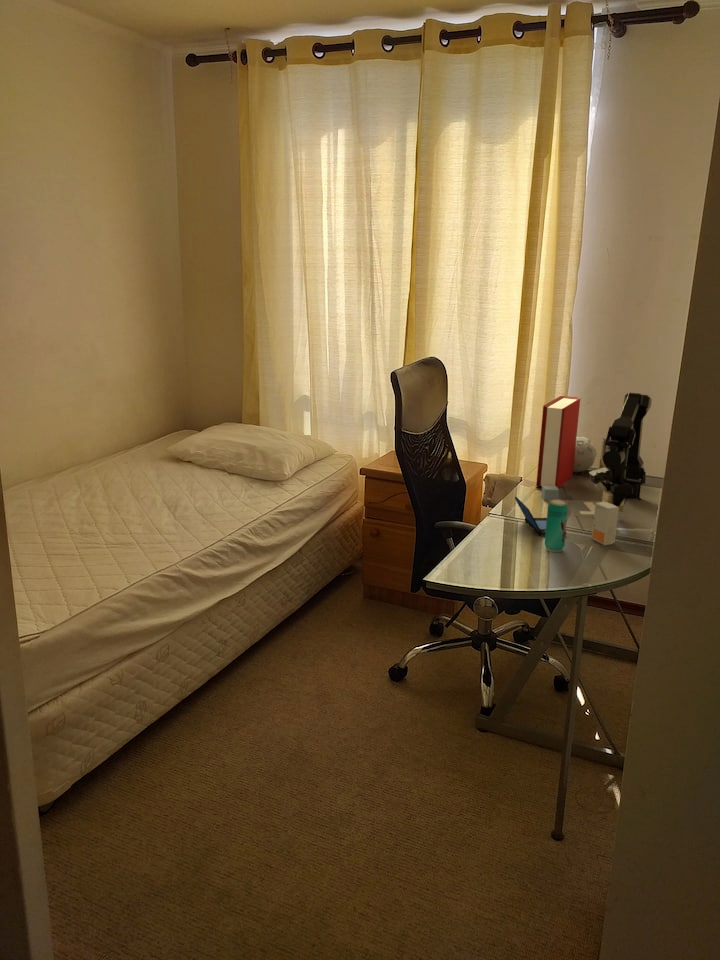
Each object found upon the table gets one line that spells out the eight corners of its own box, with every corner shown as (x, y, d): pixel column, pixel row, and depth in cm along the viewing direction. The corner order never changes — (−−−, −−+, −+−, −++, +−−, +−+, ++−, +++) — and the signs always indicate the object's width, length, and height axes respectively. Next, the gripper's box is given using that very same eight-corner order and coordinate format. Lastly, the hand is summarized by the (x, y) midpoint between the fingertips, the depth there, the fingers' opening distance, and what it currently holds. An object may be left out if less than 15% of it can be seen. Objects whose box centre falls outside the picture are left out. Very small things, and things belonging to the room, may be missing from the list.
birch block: (617, 506, 252) (619, 491, 250) (622, 511, 246) (624, 496, 245) (601, 506, 252) (603, 490, 250) (606, 511, 247) (608, 495, 245)
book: (556, 490, 283) (564, 407, 274) (536, 487, 286) (543, 405, 278) (573, 474, 306) (581, 397, 297) (554, 471, 310) (561, 395, 301)
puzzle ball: (600, 475, 306) (604, 439, 302) (566, 476, 303) (570, 440, 299) (583, 466, 320) (586, 432, 316) (550, 467, 317) (553, 432, 313)
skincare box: (590, 539, 232) (594, 502, 229) (601, 537, 233) (605, 501, 230) (604, 545, 226) (608, 508, 223) (615, 544, 228) (619, 506, 225)
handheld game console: (567, 537, 234) (570, 509, 231) (525, 537, 233) (528, 509, 230) (551, 521, 249) (553, 494, 246) (512, 521, 248) (514, 495, 245)
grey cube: (554, 499, 273) (556, 485, 271) (557, 503, 268) (559, 489, 267) (541, 498, 273) (542, 485, 272) (543, 502, 268) (545, 489, 267)
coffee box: (620, 482, 295) (625, 443, 291) (604, 482, 296) (608, 442, 291) (613, 476, 304) (617, 438, 300) (597, 476, 304) (601, 437, 300)
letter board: (610, 502, 269) (611, 501, 269) (627, 518, 252) (627, 517, 252) (561, 501, 269) (561, 499, 269) (573, 517, 252) (574, 515, 252)
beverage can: (560, 554, 219) (565, 506, 215) (541, 550, 222) (545, 502, 217) (566, 548, 223) (571, 501, 219) (547, 544, 226) (552, 497, 222)
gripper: (585, 454, 254) (580, 498, 258) (601, 468, 236) (596, 514, 240) (618, 455, 254) (613, 499, 258) (636, 469, 236) (630, 515, 240)
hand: (612, 506), depth 249 cm, fingers closed on birch block, 5 cm apart
